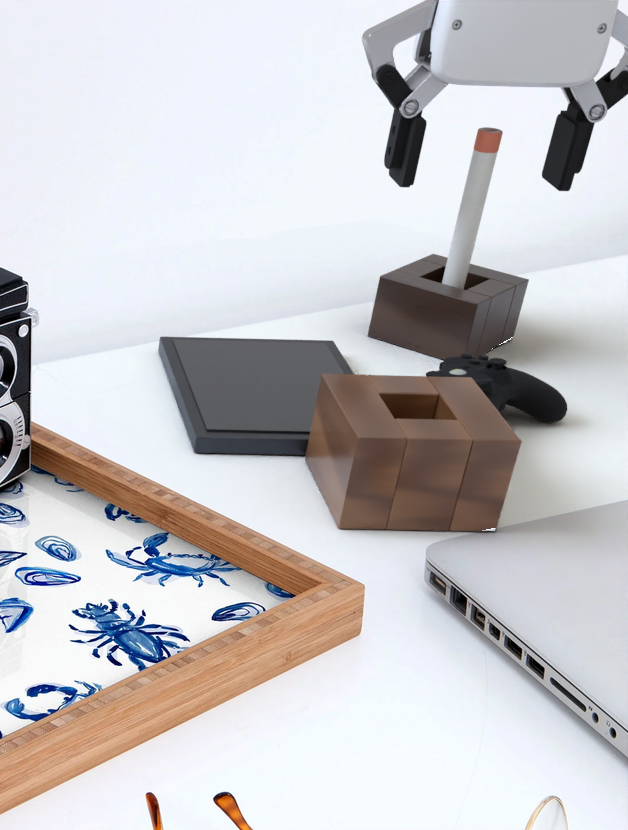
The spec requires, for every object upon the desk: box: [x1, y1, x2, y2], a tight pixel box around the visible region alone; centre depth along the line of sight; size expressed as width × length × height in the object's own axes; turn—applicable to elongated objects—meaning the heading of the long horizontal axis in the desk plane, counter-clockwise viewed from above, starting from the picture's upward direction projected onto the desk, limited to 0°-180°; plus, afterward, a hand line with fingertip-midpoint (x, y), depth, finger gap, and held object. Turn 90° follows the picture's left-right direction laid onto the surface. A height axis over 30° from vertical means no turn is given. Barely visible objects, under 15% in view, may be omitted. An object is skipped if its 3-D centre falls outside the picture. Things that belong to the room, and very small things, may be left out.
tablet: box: [157, 336, 355, 456], centre depth 86 cm, size 11×15×1 cm
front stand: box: [304, 373, 522, 532], centre depth 76 cm, size 8×8×5 cm
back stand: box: [367, 253, 530, 361], centre depth 95 cm, size 7×7×4 cm
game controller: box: [425, 354, 568, 424], centre depth 84 cm, size 10×5×7 cm
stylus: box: [442, 126, 504, 289], centre depth 92 cm, size 1×1×13 cm
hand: (477, 183), depth 90 cm, fingers open, 9 cm apart
